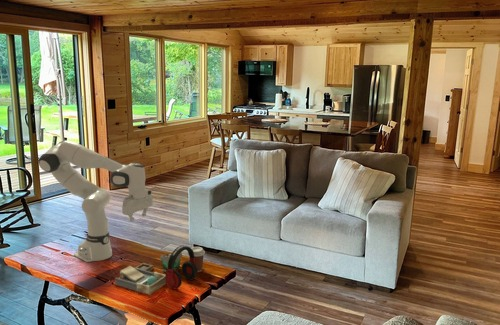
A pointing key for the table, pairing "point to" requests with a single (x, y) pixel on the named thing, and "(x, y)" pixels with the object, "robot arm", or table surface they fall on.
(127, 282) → the grey railed platform
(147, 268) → the brown square wooden tray
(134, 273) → the ramp
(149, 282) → the ball
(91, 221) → the robot arm
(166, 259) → the food container
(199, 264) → the coffee cup
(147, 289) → the tray
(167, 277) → the headphones
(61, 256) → the table surface
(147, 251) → the table surface
